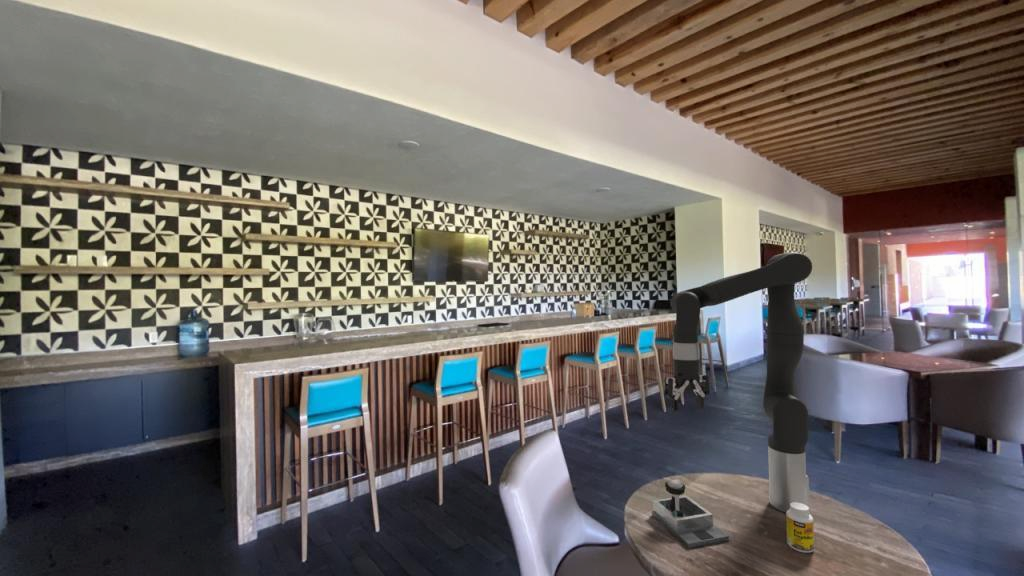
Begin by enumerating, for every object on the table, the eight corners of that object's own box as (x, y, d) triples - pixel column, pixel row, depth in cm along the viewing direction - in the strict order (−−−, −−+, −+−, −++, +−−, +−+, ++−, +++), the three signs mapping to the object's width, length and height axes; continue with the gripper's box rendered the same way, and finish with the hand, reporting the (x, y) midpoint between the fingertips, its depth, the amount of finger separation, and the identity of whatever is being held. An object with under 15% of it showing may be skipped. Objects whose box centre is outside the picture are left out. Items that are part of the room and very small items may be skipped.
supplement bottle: (791, 552, 100) (790, 510, 101) (783, 538, 106) (782, 499, 106) (818, 555, 99) (816, 513, 99) (809, 542, 104) (808, 502, 104)
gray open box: (687, 509, 121) (687, 494, 121) (728, 540, 105) (728, 524, 105) (651, 515, 118) (651, 500, 118) (688, 548, 102) (688, 531, 103)
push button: (690, 526, 110) (689, 488, 110) (670, 525, 111) (669, 488, 111) (682, 512, 117) (681, 477, 117) (663, 512, 117) (662, 477, 117)
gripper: (697, 354, 130) (699, 405, 130) (658, 356, 127) (659, 409, 127) (714, 357, 123) (716, 411, 123) (673, 360, 120) (674, 416, 119)
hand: (687, 410), depth 125 cm, fingers open, 8 cm apart
